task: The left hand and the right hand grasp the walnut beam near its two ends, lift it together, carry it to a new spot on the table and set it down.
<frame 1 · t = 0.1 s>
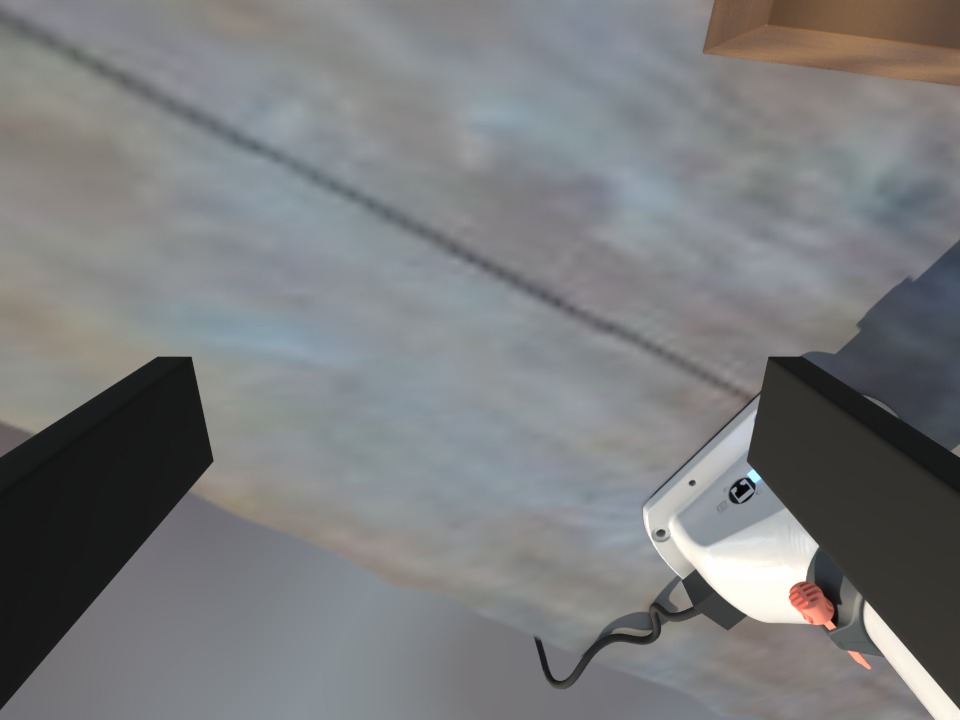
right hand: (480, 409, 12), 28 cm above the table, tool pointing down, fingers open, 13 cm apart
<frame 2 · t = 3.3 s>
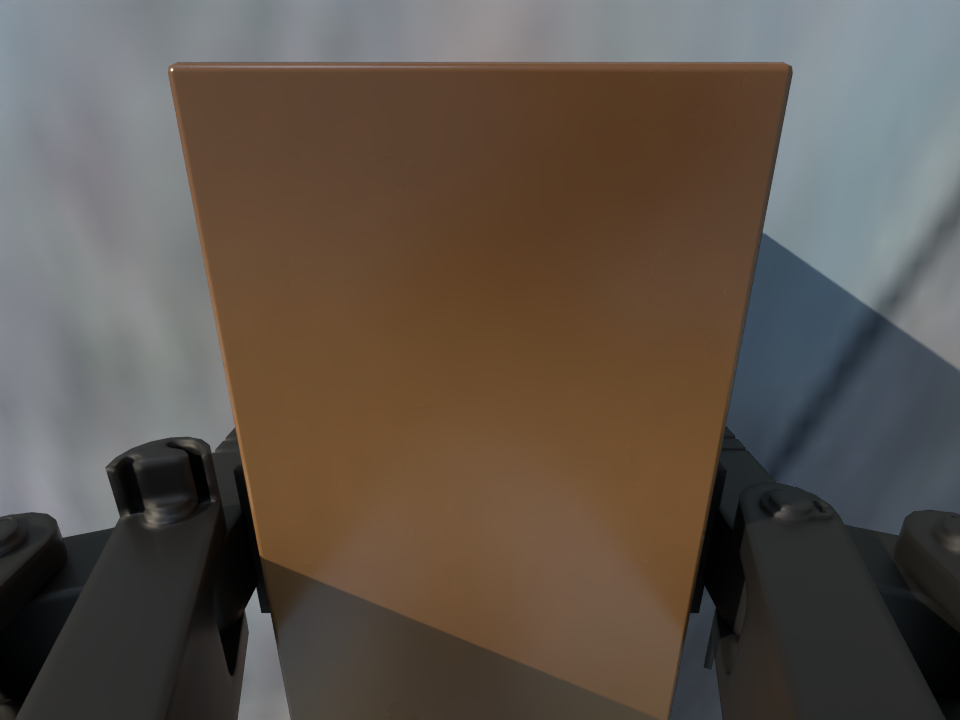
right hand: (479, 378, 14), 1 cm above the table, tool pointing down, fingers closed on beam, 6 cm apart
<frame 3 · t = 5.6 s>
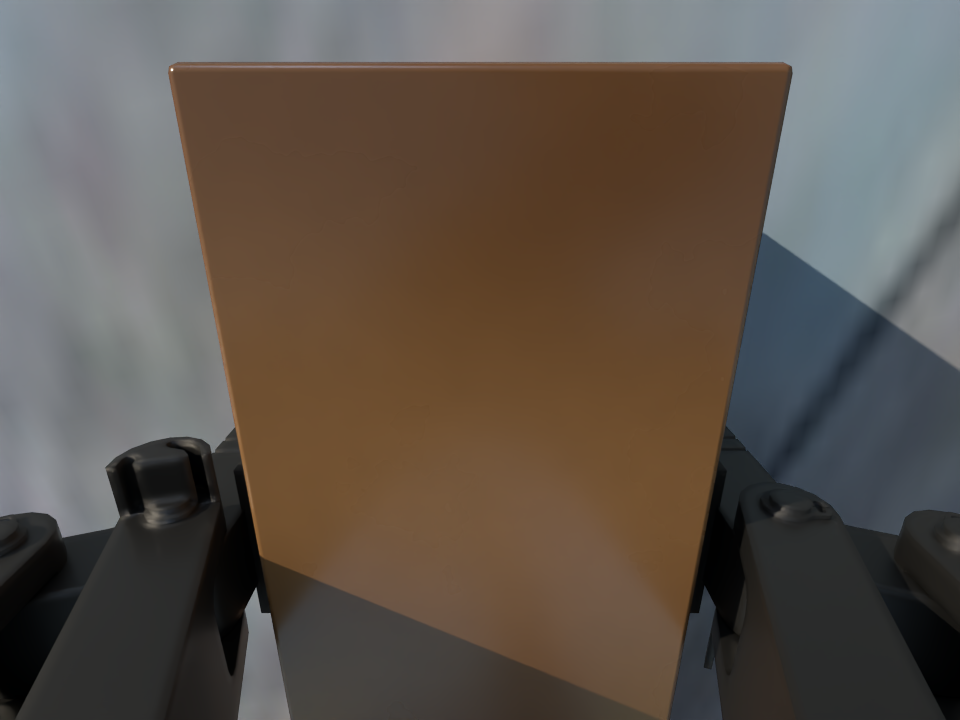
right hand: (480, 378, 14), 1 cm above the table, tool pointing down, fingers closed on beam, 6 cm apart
when the right hand's fingers open (2 cm above the table, at t = 9.8 s): beam drops 1 cm, held by the left hand.
when the left hand's fingers open (4 cm above the table, at t = 10.1 s): beam stays where it is, on the table.
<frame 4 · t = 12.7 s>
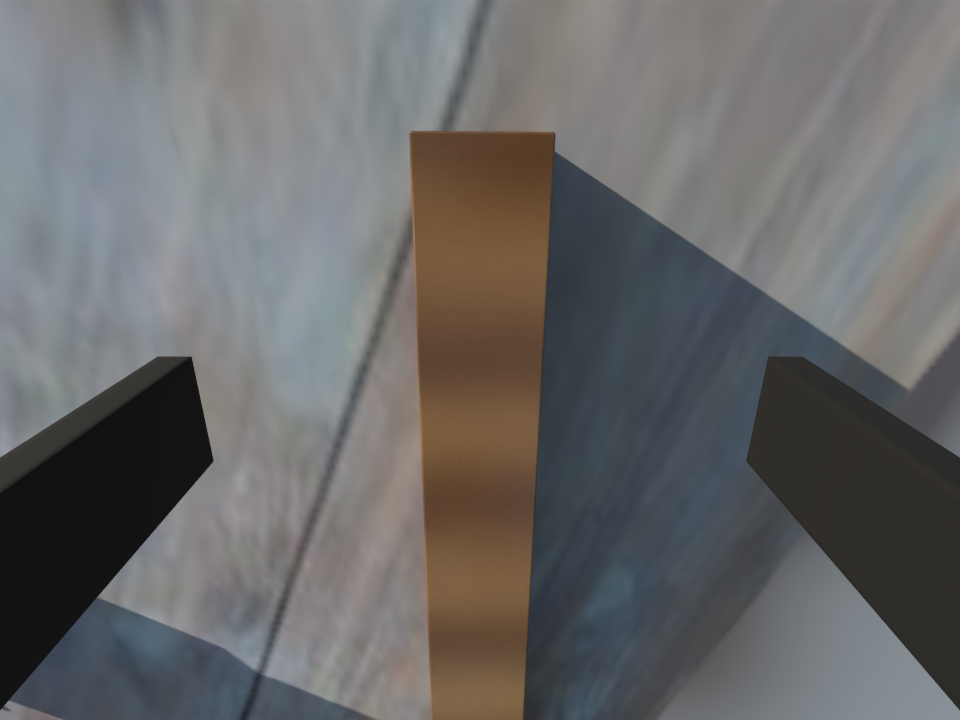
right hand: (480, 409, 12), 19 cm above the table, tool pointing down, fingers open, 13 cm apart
beam: (478, 544, 38), on the table
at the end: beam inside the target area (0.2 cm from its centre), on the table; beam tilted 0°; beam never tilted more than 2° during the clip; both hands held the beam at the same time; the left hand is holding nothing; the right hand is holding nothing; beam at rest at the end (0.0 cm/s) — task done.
